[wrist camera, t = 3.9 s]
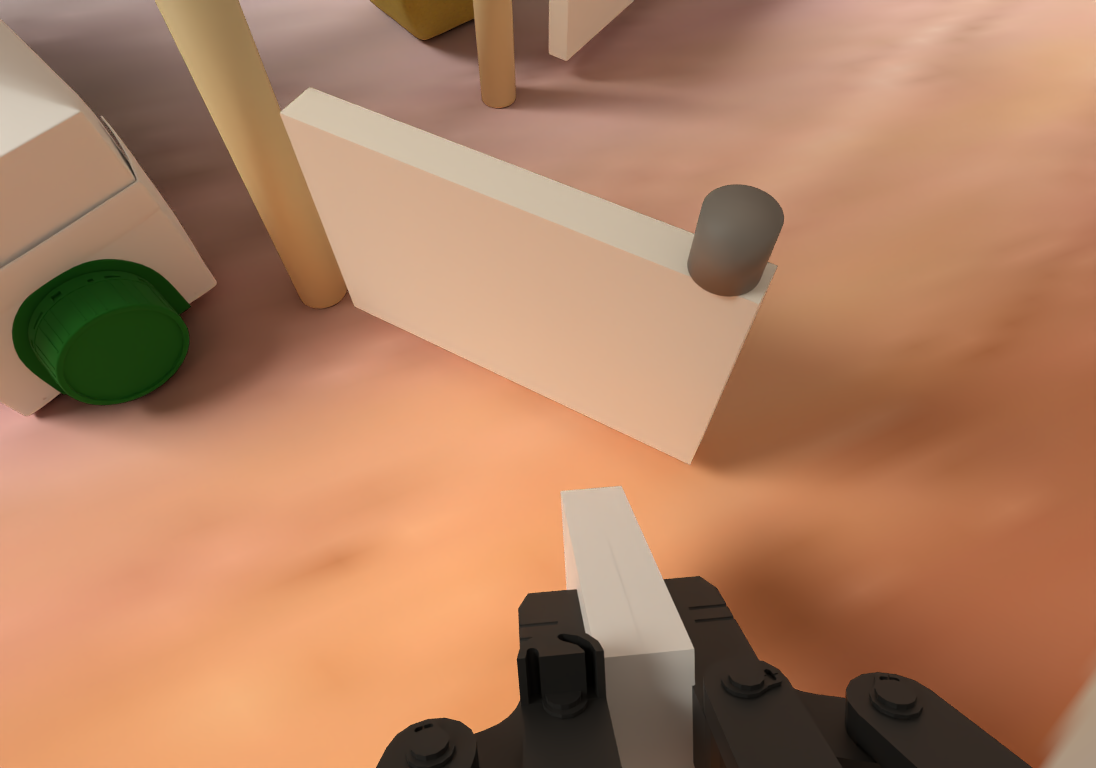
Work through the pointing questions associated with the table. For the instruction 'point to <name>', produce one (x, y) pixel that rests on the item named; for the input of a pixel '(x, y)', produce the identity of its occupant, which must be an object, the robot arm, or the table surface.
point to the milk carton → (82, 251)
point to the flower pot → (427, 15)
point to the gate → (540, 270)
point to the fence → (263, 143)
